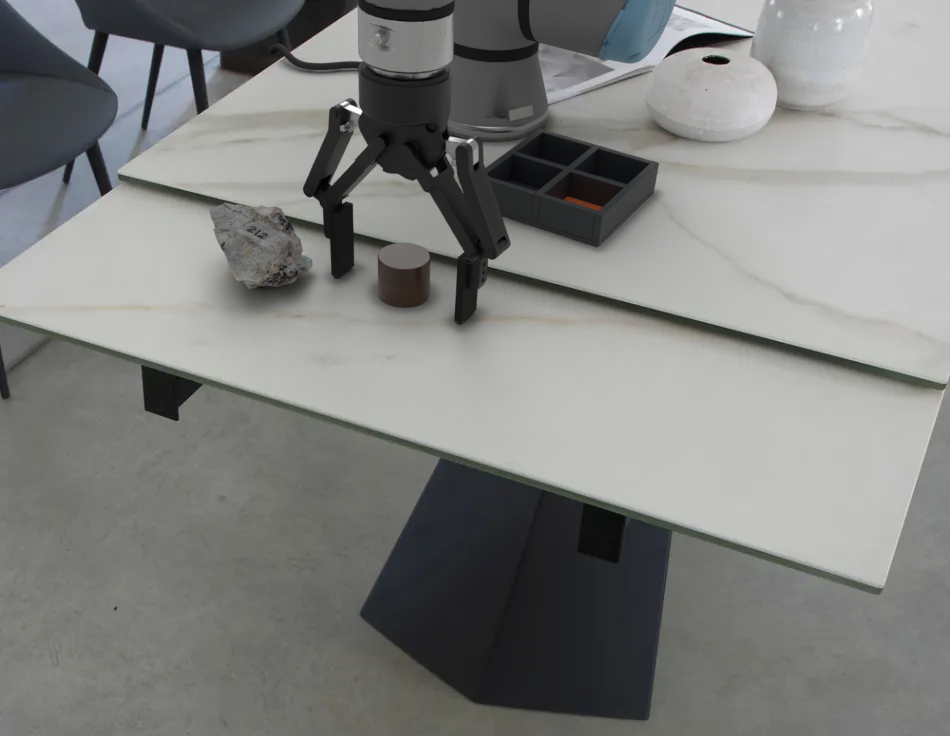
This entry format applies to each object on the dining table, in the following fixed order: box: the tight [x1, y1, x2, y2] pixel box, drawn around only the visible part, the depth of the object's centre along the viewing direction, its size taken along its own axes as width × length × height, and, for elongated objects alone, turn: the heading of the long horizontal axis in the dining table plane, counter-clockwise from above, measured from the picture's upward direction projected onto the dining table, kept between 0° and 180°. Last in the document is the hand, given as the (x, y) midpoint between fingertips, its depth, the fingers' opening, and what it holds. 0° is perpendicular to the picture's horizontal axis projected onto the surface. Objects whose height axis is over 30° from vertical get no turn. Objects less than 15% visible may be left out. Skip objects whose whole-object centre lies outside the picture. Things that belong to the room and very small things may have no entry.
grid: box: [485, 128, 660, 247], centre depth 111 cm, size 15×15×4 cm
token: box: [377, 242, 431, 308], centre depth 95 cm, size 5×5×4 cm
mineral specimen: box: [208, 202, 313, 291], centre depth 95 cm, size 10×8×10 cm
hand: (402, 292), depth 96 cm, fingers open, 13 cm apart
